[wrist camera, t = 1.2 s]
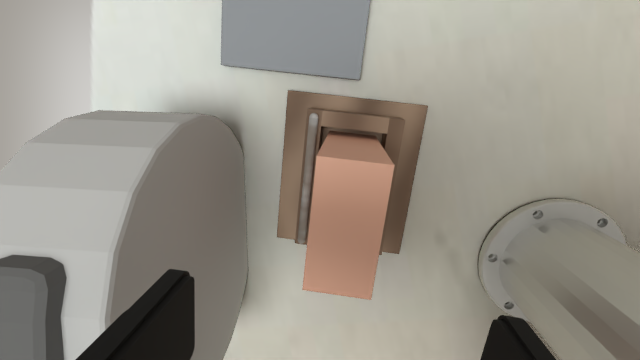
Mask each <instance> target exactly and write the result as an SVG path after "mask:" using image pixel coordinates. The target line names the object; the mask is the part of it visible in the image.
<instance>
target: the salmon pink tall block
mask: <svg viewBox="0 0 640 360" xmlns="http://www.w3.org/2000/svg"><path fill="white" fill-rule="evenodd" d="M394 166H395V165H394V164H393V162H392V161H391V159H390V158H389V156H388V155H387V153H386V151H385V150H384V148H383V147H382V145H381V144H380V142H379V141H378V139H377V138H376V136H374V135H365V134H357V133H348V132H340V131H331V130H330V131H329V133H328V135H327V137H326V139H325V141H324V143H323V144H322V146H321V148H320V150H319V152H318V154H317V156H316V166H315V175H314V185H313V194H312V204H311V213H310V223H309V232H308V242H307V251H306V261H305V270H304V280H303V289H302V290H307V291H314V292H321V293H328V294H335V295H341V296H348V297H355V298H362V299H369V300H371V297H372V291H373V285H374V280H375V274H376V268H377V263H378V257H379V251H380V245H381V240H382V234H383V228H384V223H385V217H386V211H387V206H388V200H389V194H390V189H391V183H392V177H393V172H394Z"/></svg>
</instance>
